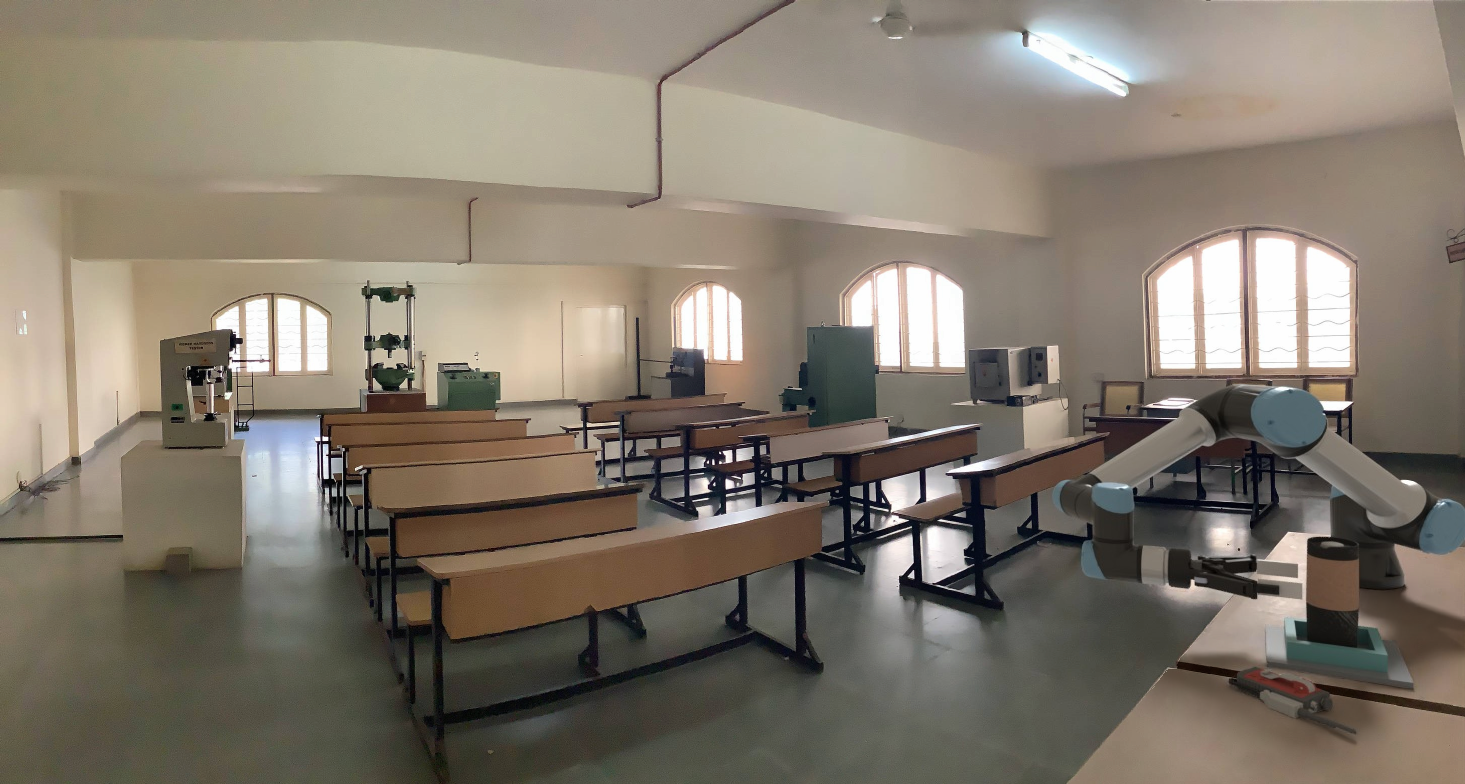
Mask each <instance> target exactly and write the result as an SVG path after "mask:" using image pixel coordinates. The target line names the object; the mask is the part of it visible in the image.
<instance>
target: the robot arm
mask: <svg viewBox="0 0 1465 784" xmlns="http://www.w3.org/2000/svg"><path fill="white" fill-rule="evenodd" d="M1324 410H1325V408H1324V406H1323V404H1322V403H1321V401H1320V400H1319V398H1317V397H1316V396H1315V395H1313V394H1312V393H1311V392H1308V391H1307V390H1304V389H1300V388H1297V387H1293V386H1287V385H1280V386H1279V385H1278V386H1272V385H1271V386H1270V385H1258V384H1256V385H1255V384H1247V383H1246V384H1245V383H1238V384H1231V385H1228V386H1225V387H1221V388H1218V389H1217V390H1214V391H1213V392H1210V393H1208V394H1206V395H1204V396H1202V397H1201V398H1199V399H1197V400H1196V401H1193V402H1192V403H1190V404H1189V405H1187V406H1185V407H1184V408H1183V409H1181V410H1180V411H1179V416H1178V417H1177V418H1175V419H1174V420H1172V421H1171V422H1169V423H1167V424H1166V425H1164V426H1162V427H1161V428H1160V429H1157V430H1156V431H1154V432H1153V433H1151V434H1149V435H1148V436H1146V437H1145V438H1143V439H1141V440H1140V441H1138V442H1136V443H1135V444H1133V445H1132V446H1130V447H1129V448H1127V449H1125V450H1124V451H1122V452H1121V453H1119V454H1117V455H1116V456H1114V457H1113V458H1110V460H1108V461H1106V462H1105V463H1103V464H1101V465H1099V466H1098V467H1096V468H1095V469H1093V470H1091V471H1090V472H1088V473H1087V474H1085V475H1084V476H1082V477H1080V478H1079V479H1077V480H1076V479H1075V480H1074V479H1065V480H1062V481H1060V482H1058V483H1057V484H1056V485H1055V486H1054V488H1053V491H1052V493H1051V500H1052V503H1053V505H1054V507H1055V508H1056V509H1057V510H1058V511H1060V512H1062V513H1063V514H1065V515H1067V516H1068V517H1073V518H1075V519H1077V520H1080V521H1083V522H1084V523H1087V524H1090V525H1092V539H1090V540H1084V541H1083V544H1082V545H1081V546H1082V547H1081V556H1080V557H1081V558H1080V562H1081V569H1082V573H1083V574H1084V575H1085V576H1086V577H1089V578H1093V579H1100V580H1104V581H1115V582H1124V583H1135V584H1143V585H1144V584H1145V585H1148V586H1149V587H1150V588H1154V587H1155V586H1161V587H1165V586H1166V584H1168V586H1169V587H1170V588H1177V589H1186V590H1188V589H1191V586H1192V581H1194V587H1199V588H1206V589H1211V590H1215V591H1220V592H1224V593H1228V594H1233V595H1237V596H1241V597H1245V598H1248V599H1251V600H1258V596H1259V595H1260V596H1268V597H1274V598H1276V597H1277V598H1284V599H1285V598H1286V599H1295V600H1303V583H1302V582H1293V581H1283V580H1273V579H1267V578H1266V579H1265V578H1264V579H1263V578H1257V580H1256V579H1252V578H1249V577H1245V576H1243V575H1238V574H1245V573H1246V574H1247V573H1256V574H1257V575H1262V576H1263V575H1264V576H1271V577H1272V576H1274V577H1284V578H1293V579H1299V563H1298V562H1292V561H1291V562H1290V561H1282V560H1281V561H1279V560H1271V559H1270V560H1269V559H1257V554H1254V553H1253V554H1252V553H1250V554H1247V555H1246V554H1245V555H1203V554H1200V555H1199V554H1198V555H1197V559H1192V551H1191V550H1190V549H1186V548H1176V547H1171V548H1169V549H1168V550H1167V548H1166V547H1165V546H1155V545H1143V544H1141V545H1140V544H1134V543H1135V541H1134V540H1135V539H1134V538H1135V535H1134V532H1135V531H1134V527H1135V526H1134V525H1135V523H1134V522H1135V520H1134V519H1135V501H1134V493H1133V491H1134V490H1133V489H1134V488H1136V487H1137V486H1139V485H1140V484H1142V483H1144V482H1145V481H1148V480H1149V479H1150V478H1152V477H1153V476H1156V475H1157V474H1158V473H1160V472H1162V471H1164V470H1165V469H1167V468H1168V467H1170V466H1171V465H1173V464H1174V463H1176V462H1177V461H1180V460H1181V459H1183V458H1184V457H1186V456H1187V455H1189V454H1190V453H1192V452H1194V451H1196V450H1197V449H1199V448H1201V447H1202V446H1205V447H1212V446H1213V445H1214V444H1216V443H1218V442H1219V441H1223V440H1226V439H1232V438H1233V439H1234V438H1237V439H1243V440H1249V441H1253V442H1258V443H1260V444H1261V445H1263V446H1264V447H1266V448H1267V449H1269V450H1270V451H1271V452H1273V453H1274V454H1276V455H1277V456H1278V457H1280V458H1283V459H1288V460H1289V459H1296V460H1297V461H1298V462H1300V463H1301V464H1303V465H1304V466H1305V467H1307V468H1308V469H1309V470H1311V471H1313V472H1314V473H1315V474H1317V475H1318V476H1319V477H1320V478H1322V479H1323V480H1325V481H1326V482H1328V483H1329V484H1330V485H1331V491H1330V497H1329V508H1330V509H1329V515H1330V518H1329V522H1330V537H1336V538H1343V539H1348V540H1352V541H1355V542H1357V543H1358V544H1359V588H1363V589H1372V590H1373V589H1376V590H1377V589H1378V590H1389V589H1390V590H1391V589H1392V590H1393V589H1398V588H1402V587H1403V586H1405V573H1404V570H1403V568H1402V566H1401V565H1402V564H1401V563H1400V560H1399V558H1398V555H1397V553H1396V549H1395V548H1396V547H1395V546H1396V545H1397V546H1401V547H1405V548H1409V549H1412V550H1417V551H1420V552H1422V553H1425V554H1433V555H1438V556H1445V555H1448V554H1450V553H1451V554H1452V552H1455V551H1456V550H1457V549H1458V548H1459V547H1461V545H1463V543H1464V542H1465V506H1463V505H1462V504H1461V503H1460V502H1457V501H1454V500H1452V499H1451V498H1441V497H1438V496H1436V495H1434V494H1433V493H1432V492H1430V491H1429V490H1427V489H1426V488H1425V487H1423V486H1422V485H1421V484H1419V483H1417V482H1416V481H1412V480H1407V479H1401V480H1400V479H1399V478H1397V476H1395V475H1393V474H1392V472H1389V471H1388V470H1387V469H1385V468H1384V467H1383V466H1381V465H1380V464H1378V463H1377V462H1376V461H1374V460H1373V459H1372V458H1370V457H1369V456H1368V455H1366V454H1365V453H1363V452H1362V451H1361V450H1359V449H1358V448H1356V447H1355V446H1354V445H1352V444H1351V443H1350V442H1348V441H1347V440H1346V439H1344V438H1342V436H1340V435H1339V434H1338V433H1336V432H1335V431H1333V430H1332V429H1331V428H1329V420H1328V418H1327V416H1326V414H1325V413H1324Z"/></svg>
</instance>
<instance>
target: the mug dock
mask: <svg viewBox="0 0 1465 784" xmlns="http://www.w3.org/2000/svg"><path fill="white" fill-rule="evenodd" d="M1283 619H1284V621H1283V622H1284V623H1283V624H1284V625H1283V626H1279V625H1273V624H1265V625H1264V626H1265V627H1264V628H1265V629H1264V631H1265V653H1266V657H1265V658H1266V659H1265V660H1266V667H1267V668H1272V669H1279V670H1287V671H1293V672H1294V671H1295V672H1298V673H1299V672H1300V673H1306V674H1314V675H1320V676H1324V677H1325V676H1326V677H1331V678H1332V677H1333V678H1339V679H1345V680H1351V681H1360V682H1366V683H1371V684H1377V685H1378V684H1379V685H1385V686H1390V687H1391V686H1393V687H1398V688H1403V689H1411V690H1414V689H1415V688H1414V687H1415V686H1414V685H1415V684H1414V683H1415V682H1414V681H1413V677H1412V676H1411V674H1410V671H1409V670H1408V667H1407V664H1406V662H1405V659H1404V657H1403V655H1402V652H1401V651H1400V648H1399V646H1398V644H1397V641H1396V640H1388V639H1382V637H1381V633H1380V631H1379V629H1378V628H1377V627H1371V626H1365V625H1358V637H1357V648H1352V647H1344V646H1337V645H1329V644H1322V643H1315V642H1307V618H1299V617H1292V616H1291V617H1289V616H1284V617H1283Z"/></svg>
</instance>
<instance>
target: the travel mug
mask: <svg viewBox="0 0 1465 784" xmlns="http://www.w3.org/2000/svg"><path fill="white" fill-rule="evenodd" d="M1305 577H1306V579H1305V581H1306V586H1305V609H1306V610H1305V611H1306V619H1307V642H1315V643H1322V644H1329V645H1337V646H1344V647H1352V648H1357V637H1358V626H1359V615H1360V614H1359V612H1360V587H1359V544H1358V543H1357V542H1355V541H1352V540H1348V539H1343V538H1336V537H1331V536H1312V537H1308V538H1307V539H1306V576H1305Z"/></svg>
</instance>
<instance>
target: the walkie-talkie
mask: <svg viewBox="0 0 1465 784" xmlns="http://www.w3.org/2000/svg"><path fill="white" fill-rule="evenodd" d="M1228 684H1229V685H1231V686H1233V687H1236V689H1237V690H1238V691H1239V692H1241V693H1244V694H1247V695H1249V696H1251V695H1252V696H1253V697H1254V698H1257V699H1260V700H1262V701H1263V703H1264V705H1266V706H1267V708H1268V709H1271V710H1273V711H1276V712H1278V713H1281V714H1284V715H1286V716H1289V717H1290V718H1292V719H1297V718H1300V717H1301V718H1303V719H1305V720H1306V719H1309V720H1312V721H1314V722H1315V723H1319V724H1322V725H1324V726H1327V727H1329V728H1332V729H1336V728H1337V729H1339V730H1342V731H1343V732H1344V731H1345V732H1347V733H1350V734H1352V735H1355V736H1356V735H1357V734H1358V732H1357V730H1356V729H1355V728H1353V727H1351V726H1349V725H1346V724H1343V723H1341V722H1338V721H1335V720H1333V719H1330V718H1327V717H1326V716H1325V717H1324V716H1322V715H1319V714H1317V713H1319V712H1321V711H1326V712H1329V711H1330V710H1331V709H1332V707H1333V699H1332V698H1331V693H1330V692H1329V691H1326V690H1323V689H1321V688H1318V687H1317V686H1316V684H1315V683H1314V682H1313V681H1312V680H1309V679H1306V678H1305V677H1304V678H1303V677H1302V678H1301V677H1300V676H1298V675H1295V674H1292V673H1289V672H1286V673H1283V674H1279V673H1275V672H1273V669H1271V668H1267V669H1264V668H1261V667H1256V666H1253V667H1249V668H1246V669H1243V670H1240V671H1238V672H1237V673H1236V677H1235V678H1234V677H1229V678H1228Z"/></svg>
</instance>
